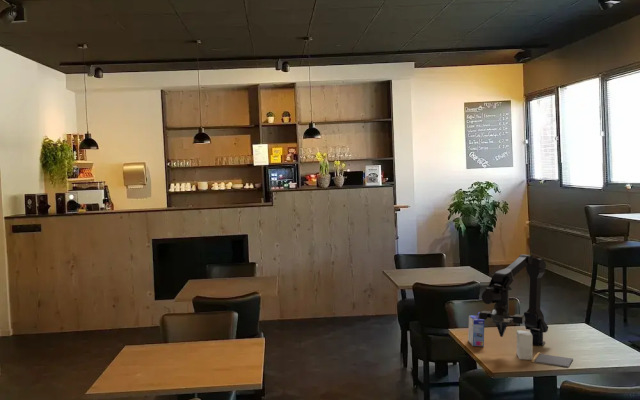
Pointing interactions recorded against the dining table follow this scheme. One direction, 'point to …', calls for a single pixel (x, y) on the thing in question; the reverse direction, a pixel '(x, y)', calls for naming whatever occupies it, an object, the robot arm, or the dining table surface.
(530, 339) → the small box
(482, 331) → the ink cartridge box
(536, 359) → the mat
